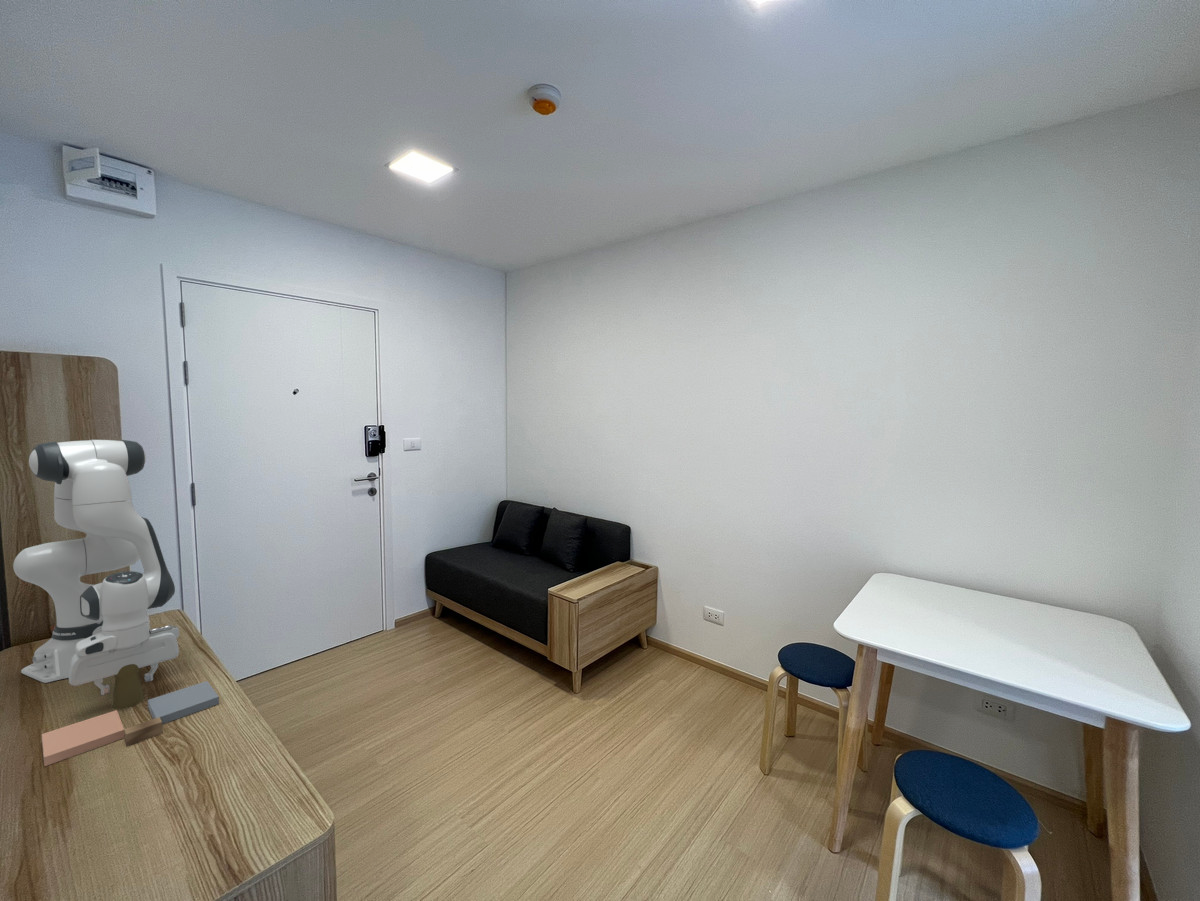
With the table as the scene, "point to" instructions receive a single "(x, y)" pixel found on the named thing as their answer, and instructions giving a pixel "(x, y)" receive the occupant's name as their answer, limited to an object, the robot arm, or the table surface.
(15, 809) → the table surface
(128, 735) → the walnut brick
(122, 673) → the olive rounded tall piece
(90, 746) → the terracotta tile
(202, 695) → the steel tile
